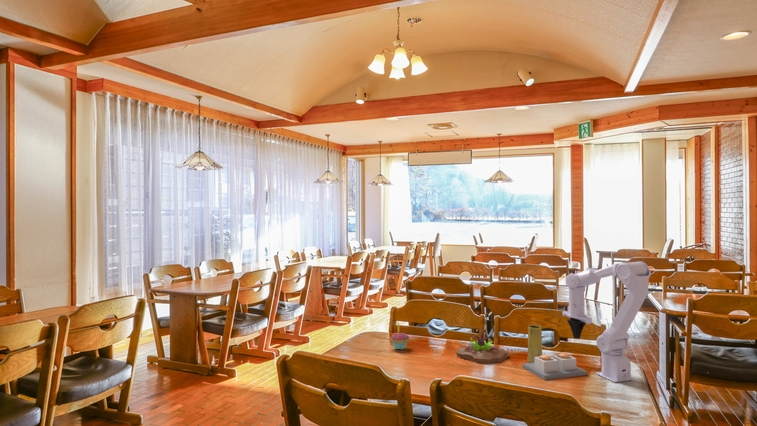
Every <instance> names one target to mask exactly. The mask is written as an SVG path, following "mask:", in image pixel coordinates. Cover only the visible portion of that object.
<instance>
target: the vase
mask: <svg viewBox="0 0 757 426" xmlns="http://www.w3.org/2000/svg"><path fill="white" fill-rule="evenodd" d="M542 335H543V334H542V326H541V325H537V324H530V325H528V326H527V360H526V361H527V363H534V357H540V356H541V355H543V337H542Z"/></svg>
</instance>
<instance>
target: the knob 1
mask: <svg viewBox="0 0 757 426" xmlns="http://www.w3.org/2000/svg"><path fill="white" fill-rule="evenodd" d="M551 357H552V356H551V355H547V354H542V355H541V359H542V360H543V361H550V360H551Z"/></svg>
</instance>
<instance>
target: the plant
mask: <svg viewBox="0 0 757 426" xmlns="http://www.w3.org/2000/svg"><path fill="white" fill-rule="evenodd" d="M487 333H488V330H487V329H486V328H485V329H482V331H481V334H480V336H478V335H473V336H472V337H470V339H469V340H470V341H469V343H470V344H469V345H467V346H461V347H459V348H457V350H456V351H455V356H456V355H457V356H458V357H457V356H456V357H457V358H459V357H460V358H459V359H462V358H463V360H466V359H467V360H466V361H470V360H471V361H470V362H473V361H474V362H473V363H475V362H476V363H477V364H481V363H483V365H484V364H485V365H491V364H493V363H496V362H498V363H502V362H503V361H504V359H505V358H506V359H508V358H509V352H508V351H507V350H505V349H504V348H501V347H498V346H494V345H493V340H492V339H491V338H490V337H485V338H484V334H487ZM475 338H476V339H477V341H476V340H474V339H475ZM486 340H488V341H487V342H486ZM507 357H508V358H507ZM506 359H505V360H506ZM502 360H503V361H502Z"/></svg>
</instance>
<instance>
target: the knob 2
mask: <svg viewBox="0 0 757 426" xmlns="http://www.w3.org/2000/svg"><path fill="white" fill-rule="evenodd" d="M558 355H559V357H560V358H562V359H569V357H570V356H571V355H570V354H569V353H564V352H561V353H558Z"/></svg>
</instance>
